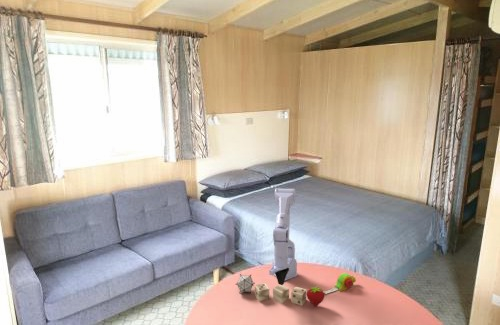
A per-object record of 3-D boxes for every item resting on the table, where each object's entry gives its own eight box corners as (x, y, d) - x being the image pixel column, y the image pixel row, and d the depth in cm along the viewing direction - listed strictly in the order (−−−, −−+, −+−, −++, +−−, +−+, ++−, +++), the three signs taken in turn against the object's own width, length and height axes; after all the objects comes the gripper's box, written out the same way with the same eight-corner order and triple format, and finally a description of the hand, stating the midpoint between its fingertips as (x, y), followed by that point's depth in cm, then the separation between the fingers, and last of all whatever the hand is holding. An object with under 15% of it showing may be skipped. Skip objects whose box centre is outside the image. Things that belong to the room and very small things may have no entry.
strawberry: (324, 311, 142) (325, 289, 140) (306, 309, 143) (306, 287, 141) (324, 303, 147) (324, 281, 146) (306, 301, 149) (306, 280, 147)
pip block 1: (265, 293, 156) (265, 282, 155) (269, 299, 151) (269, 288, 150) (254, 295, 154) (254, 285, 153) (258, 301, 149) (258, 290, 148)
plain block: (280, 294, 155) (280, 284, 154) (289, 298, 151) (289, 288, 150) (273, 298, 151) (273, 288, 150) (281, 303, 148) (281, 293, 147)
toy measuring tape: (359, 287, 159) (360, 274, 158) (325, 298, 151) (326, 284, 150) (350, 280, 165) (350, 268, 164) (317, 291, 157) (317, 277, 156)
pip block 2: (295, 296, 152) (295, 286, 152) (306, 299, 150) (306, 289, 149) (291, 302, 148) (291, 292, 147) (301, 306, 146) (302, 295, 145)
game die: (246, 301, 156) (244, 292, 149) (233, 289, 160) (230, 280, 153) (259, 286, 160) (257, 277, 153) (245, 275, 164) (243, 266, 157)
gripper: (283, 246, 155) (282, 274, 158) (263, 258, 144) (263, 287, 147) (296, 250, 151) (295, 279, 153) (277, 263, 140) (277, 293, 142)
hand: (281, 283), depth 150 cm, fingers closed
